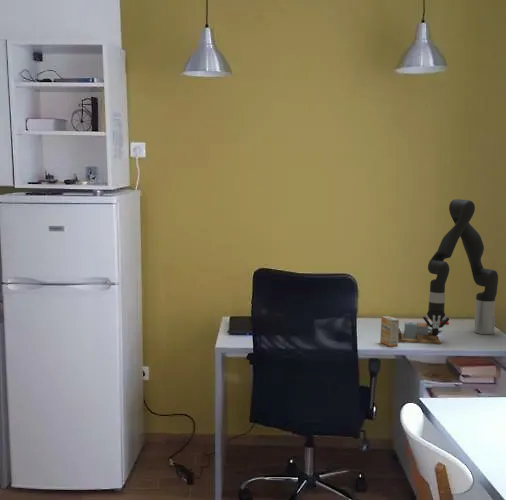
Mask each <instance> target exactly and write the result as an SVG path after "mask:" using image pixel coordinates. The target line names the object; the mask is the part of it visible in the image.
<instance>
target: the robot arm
mask: <svg viewBox="0 0 506 500" xmlns="http://www.w3.org/2000/svg"><path fill="white" fill-rule="evenodd" d="M475 209H476V205H475V203H474V202H473V201H472V200H469V199H461V198H460V199H459V198H455V199H452V200H451V201H450V203H449V205H448V210H449V215H450V217H451V219H452V220H453V222H454V225H453V226H452V228H451V229H449V231H448V232H447V233H446V234H445V235H444V236H443V237H442V239H441V241H440V243H439V246H438V248H437V250H436V252H435V253H434V255H433V256H432V257H431V259H430V260H429V261H428V265H427V270H428V272H429V274H433V275H436V278H434V279H431V280H430V285H429V295H428V310H427V312H426V314H425V315H423V316H422V319H423V320H424V323H427V324H428V326H429V328H431V332H432V335H433V336H438V335H439V329H440V328H441V329H442V328H443V327H444V326H445V325H447V324H446V323H447V322H449V321H450V318H449V317H448V316H447V315H446V313H445V305H446V304H445V303H446V302H445V301H446V293H445V292H446V283H447V280H448V277H449V274H450V266H449V264H448V262H446V261H445V260H447V259H450V258H451V257H452V256H453V253H454V251H455V248H456V246H457V243H458V242H459V239H460V240H461V242H462V245H463V248H464V251H465V254H466V256H467V259H468V263H469V266H470V269H471V274H472V278H473V281H474V283H475V285H476V286H479V287H484V291H482V292H478V293H477V294H476V295H475V313H474V327H473V329H474V330H473V332H474V333H476V334H479V335H480V334H481V335H494V334H495V326H496V325H495V322H496V315H495V306H496V305H495V303H496V296H497V293H498V285H499V275H498V271H496V270H494V269H489V268H484V266H483V263H482V260H481V259H482V256H483V254H484V252H485V245H484V242H483V240H482V237H481V235H480V234H479V232H478V231H477V230H476V229H475V227H473V226H472V224H471V223H470V221H471V219H472V218H473V216H474V214H475ZM443 318H444V320H443V321H442V323H441V324H440V321H441V320H442V319H443ZM429 319H430V321H431V323H430V321H429ZM435 321H436V323H435Z"/></svg>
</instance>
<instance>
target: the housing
mask: <svg viewBox="0 0 506 500" xmlns="http://www.w3.org/2000/svg"><path fill="white" fill-rule="evenodd" d="M416 325H417V322H413V321H408V322H407V321H405V322H404V331H403V332H404V333H403V334H404V337H405V338H413V339H416Z"/></svg>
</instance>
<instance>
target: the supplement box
mask: <svg viewBox="0 0 506 500" xmlns="http://www.w3.org/2000/svg"><path fill="white" fill-rule="evenodd" d="M380 318H381V321H380V323H381V324H380V339H379V341H380V343H381V344H384V345H386V346H388V347H389V348H390V347H397V346H399V345H398V344H399V342H398V329H399V327H400V319H398V318H396V317H393V316H390V315H383V316H381V317H380Z"/></svg>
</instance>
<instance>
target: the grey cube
mask: <svg viewBox="0 0 506 500" xmlns="http://www.w3.org/2000/svg"><path fill="white" fill-rule="evenodd" d="M429 329H430V327H429V326H428V324H427V323H426V322H416V336H417V335H424V336H428V332H429Z"/></svg>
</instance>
